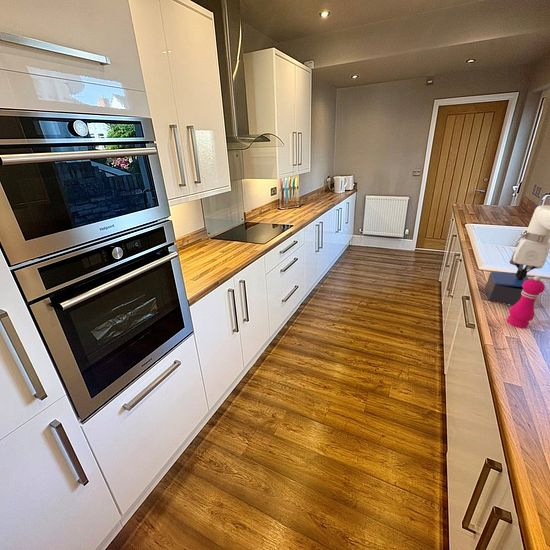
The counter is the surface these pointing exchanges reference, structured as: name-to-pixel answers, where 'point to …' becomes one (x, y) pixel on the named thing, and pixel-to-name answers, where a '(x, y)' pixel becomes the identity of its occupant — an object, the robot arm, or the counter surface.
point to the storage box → (502, 292)
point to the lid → (507, 279)
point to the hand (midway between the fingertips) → (519, 278)
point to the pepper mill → (526, 303)
